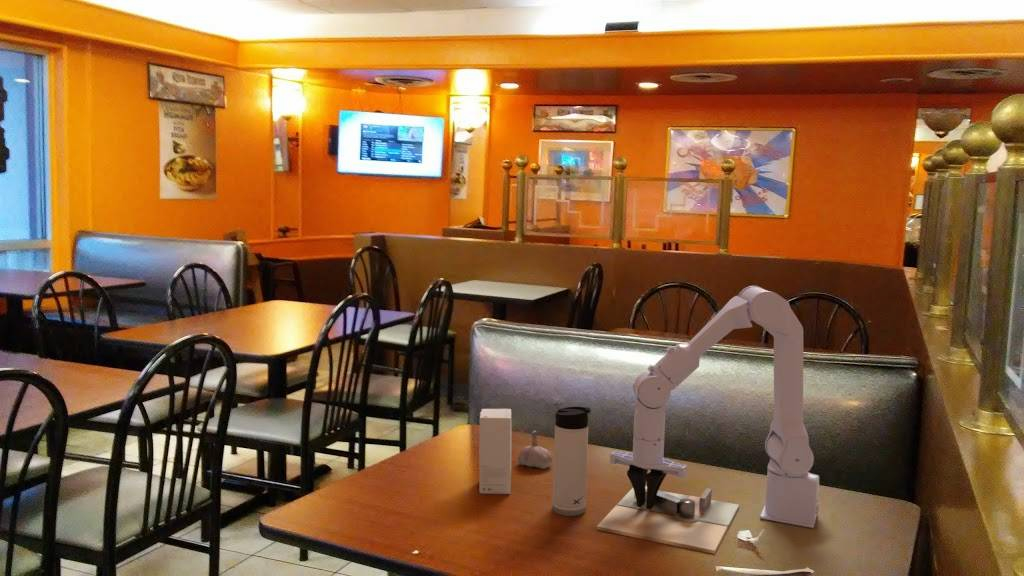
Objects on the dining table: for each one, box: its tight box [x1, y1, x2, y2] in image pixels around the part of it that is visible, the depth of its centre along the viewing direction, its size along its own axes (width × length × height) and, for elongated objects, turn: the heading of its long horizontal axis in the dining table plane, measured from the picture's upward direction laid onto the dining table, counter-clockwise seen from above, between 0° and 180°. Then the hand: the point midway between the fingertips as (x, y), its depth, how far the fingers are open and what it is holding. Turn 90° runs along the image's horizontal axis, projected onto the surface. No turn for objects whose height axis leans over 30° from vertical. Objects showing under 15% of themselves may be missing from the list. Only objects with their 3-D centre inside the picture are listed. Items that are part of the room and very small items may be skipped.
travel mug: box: [552, 406, 592, 517], centre depth 154 cm, size 6×7×20 cm
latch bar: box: [634, 485, 695, 518], centre depth 155 cm, size 13×3×3 cm, turn 42°
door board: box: [596, 487, 740, 555], centre depth 152 cm, size 21×23×3 cm
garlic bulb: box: [517, 430, 554, 469], centre depth 179 cm, size 8×7×8 cm
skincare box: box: [478, 408, 513, 495], centre depth 165 cm, size 8×7×16 cm
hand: (645, 506), depth 154 cm, fingers closed
